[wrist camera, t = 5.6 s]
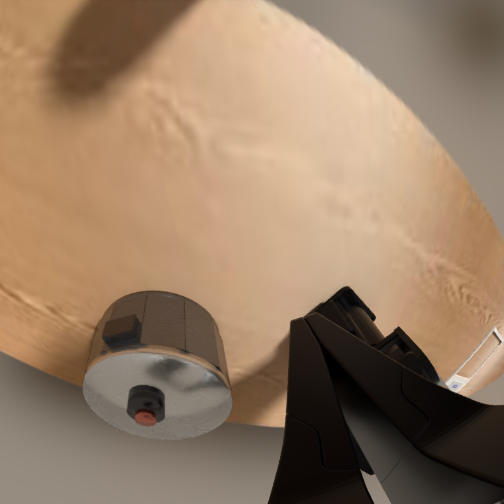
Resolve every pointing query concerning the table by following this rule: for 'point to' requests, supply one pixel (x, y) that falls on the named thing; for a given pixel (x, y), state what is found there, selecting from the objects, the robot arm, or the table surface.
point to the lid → (157, 392)
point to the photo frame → (458, 381)
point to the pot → (160, 327)
